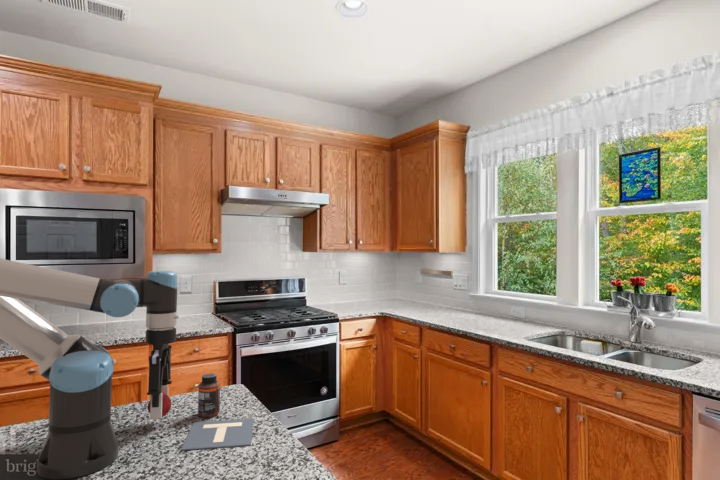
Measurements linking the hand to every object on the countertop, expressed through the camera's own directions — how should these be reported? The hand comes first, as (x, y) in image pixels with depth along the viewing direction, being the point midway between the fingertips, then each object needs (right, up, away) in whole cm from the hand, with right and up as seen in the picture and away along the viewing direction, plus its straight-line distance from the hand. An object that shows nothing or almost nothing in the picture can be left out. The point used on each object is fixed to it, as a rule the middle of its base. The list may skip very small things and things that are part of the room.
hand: (159, 413), depth 115 cm
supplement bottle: (+10, -4, +8) cm, 14 cm away
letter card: (+18, -3, -5) cm, 19 cm away
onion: (0, -2, 0) cm, 2 cm away
